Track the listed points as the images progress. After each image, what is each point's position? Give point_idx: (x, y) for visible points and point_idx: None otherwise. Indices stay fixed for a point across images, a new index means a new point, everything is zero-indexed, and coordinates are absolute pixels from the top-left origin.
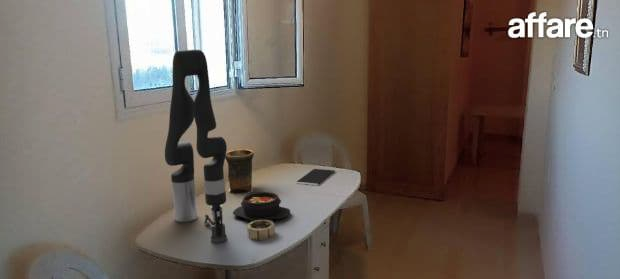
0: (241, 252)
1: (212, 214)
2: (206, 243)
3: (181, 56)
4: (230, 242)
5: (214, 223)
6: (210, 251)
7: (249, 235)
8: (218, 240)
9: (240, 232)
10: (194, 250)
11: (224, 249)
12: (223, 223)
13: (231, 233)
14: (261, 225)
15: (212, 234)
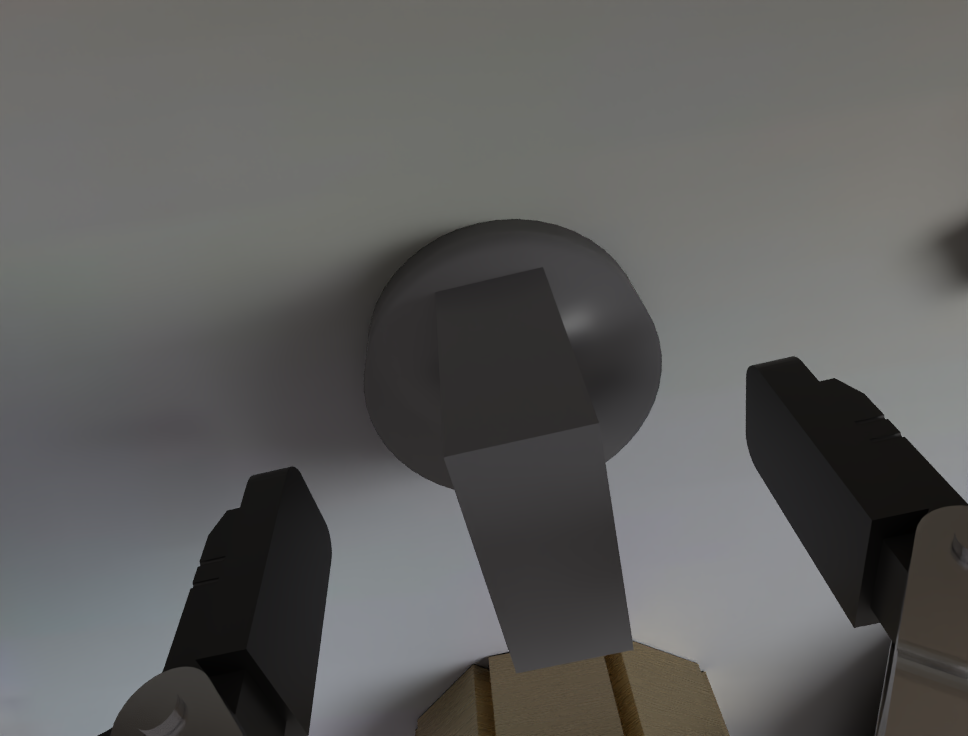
0: (89, 640)
1: (891, 707)
2: (379, 153)
3: None
4: (390, 505)
5: (798, 430)
6: (31, 285)
7: (493, 694)
8: (369, 395)
9: (697, 565)
10: None
11: (147, 469)
12: (624, 641)
13: (705, 478)
14: None
15: (441, 347)
